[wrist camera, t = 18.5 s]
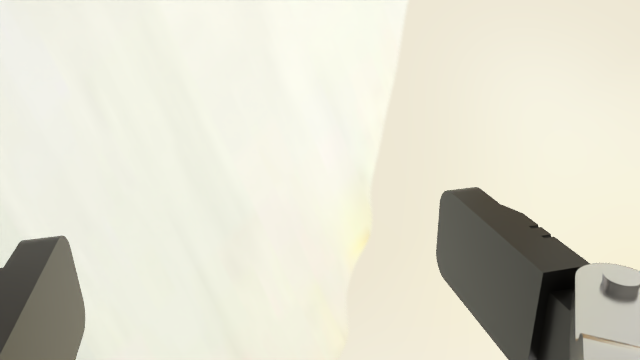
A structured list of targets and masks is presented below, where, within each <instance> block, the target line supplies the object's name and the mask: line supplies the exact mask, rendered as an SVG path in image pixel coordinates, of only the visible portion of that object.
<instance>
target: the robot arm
mask: <svg viewBox="0 0 640 360" xmlns="http://www.w3.org/2000/svg"><path fill="white" fill-rule="evenodd" d="M436 256H437V262H438V267H439V270H440V273H441V275H442V277H443V278H444V280H445V281H446V282H447V283H448V285H449V286H450V287H451V288H452V290H453V291H454V292H455V293H456V295H457V296H458V297H459V298H460V300H461V301H462V302H463V303H464V305H465V306H466V307H467V308H468V310H469V311H470V312H471V313H472V315H473V316H474V317H475V318H476V320H477V321H478V322H479V323H480V325H481V326H482V327H483V328H484V330H485V331H486V332H487V333H488V334H489V336H490V337H491V338H492V340H493V341H494V342H495V343H496V344H497V346H498V347H499V348H500V350H501V351H502V352H503V353H504V354H505V356H506V357H507V358H508V359H509V360H640V271H638V270H635V269H633V268H629V267H626V266H621V265H617V264H609V263H594V264H590V263H588V262H587V261H586V260H584V259H583V258H582V257H580V256H579V255H578V254H576V253H575V252H574V251H572V250H571V249H569V248H568V247H567V246H565V245H564V244H563V243H562V242H560V241H559V240H558V239H556V238H555V237H551V234H550V233H548V232H547V231H546V230H544V229H543V228H541V227H538V224H536V223H535V222H533V221H532V220H531V219H529V218H528V217H527V216H525V215H524V214H523V213H520V212H518V211H515V210H513V209H510V208H508V207H506V206H503V205H500V204H499V203H498V202H497V201H495V200H494V199H493V198H491V197H490V196H489V195H487V194H486V193H485V192H484V191H482V190H481V189H479V188H477V187H474V188H465V189H457V190H448V191H445V192H444V193H443V194H442V196H441V199H440V209H439V223H438V236H437V250H436ZM84 328H85V308H84V302H83V297H82V293H81V289H80V285H79V281H78V277H77V273H76V269H75V265H74V261H73V257H72V253H71V249H70V245H69V242H68V240H67V239H66V237H65V236H56V237H48V238H40V239H31V240H23V241H21V242H20V243H19V244H18V246H17V247H16V249H15V251H14V252H13V254H12V255H11V257H10V258H9V260H8V261H7V263H6V264H5V266H4V268H0V360H75V359H76V356H77V352H78V349H79V346H80V343H81V340H82V336H83V333H84Z"/></svg>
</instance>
